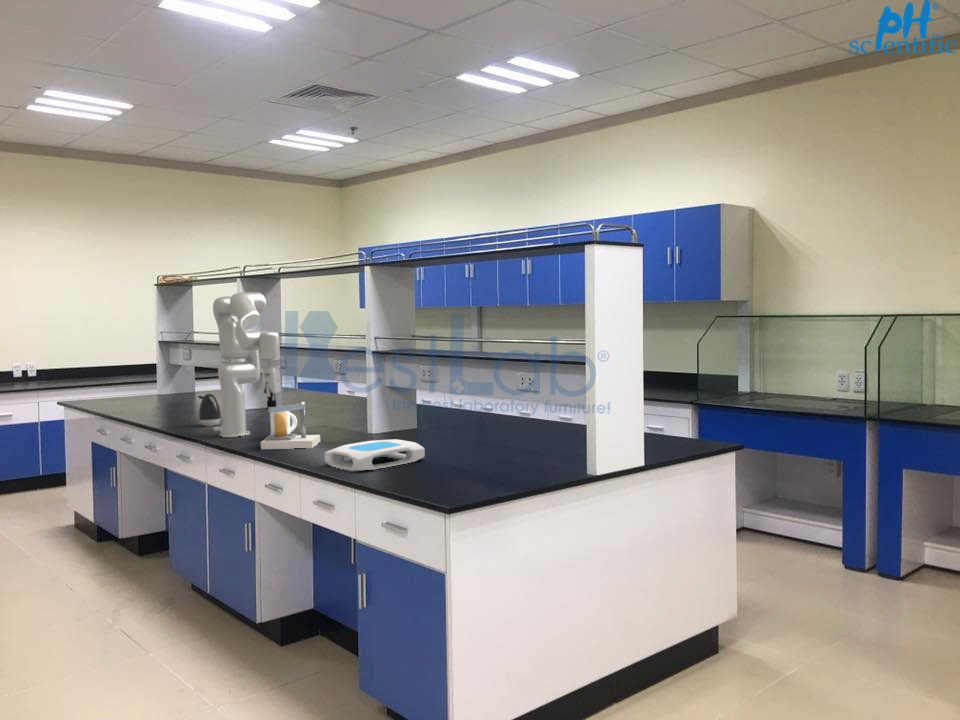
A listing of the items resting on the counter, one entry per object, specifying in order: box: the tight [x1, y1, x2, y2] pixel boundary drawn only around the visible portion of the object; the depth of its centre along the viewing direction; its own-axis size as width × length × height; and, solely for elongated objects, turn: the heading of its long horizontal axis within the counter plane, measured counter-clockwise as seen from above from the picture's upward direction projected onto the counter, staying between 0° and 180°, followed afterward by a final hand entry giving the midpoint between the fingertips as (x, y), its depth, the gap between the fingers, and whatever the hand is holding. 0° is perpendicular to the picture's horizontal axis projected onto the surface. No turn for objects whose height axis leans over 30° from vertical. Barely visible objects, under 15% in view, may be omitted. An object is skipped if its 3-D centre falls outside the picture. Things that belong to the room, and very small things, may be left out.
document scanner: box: [324, 438, 426, 472], centre depth 272 cm, size 21×28×6 cm
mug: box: [269, 411, 298, 435], centre depth 331 cm, size 8×12×12 cm
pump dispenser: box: [198, 393, 222, 427], centre depth 371 cm, size 10×10×15 cm
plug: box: [273, 412, 288, 438], centre depth 310 cm, size 6×6×10 cm
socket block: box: [260, 433, 321, 450], centre depth 311 cm, size 20×14×4 cm
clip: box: [267, 401, 307, 438], centre depth 306 cm, size 14×2×14 cm, turn 127°
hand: (271, 410), depth 305 cm, fingers closed
